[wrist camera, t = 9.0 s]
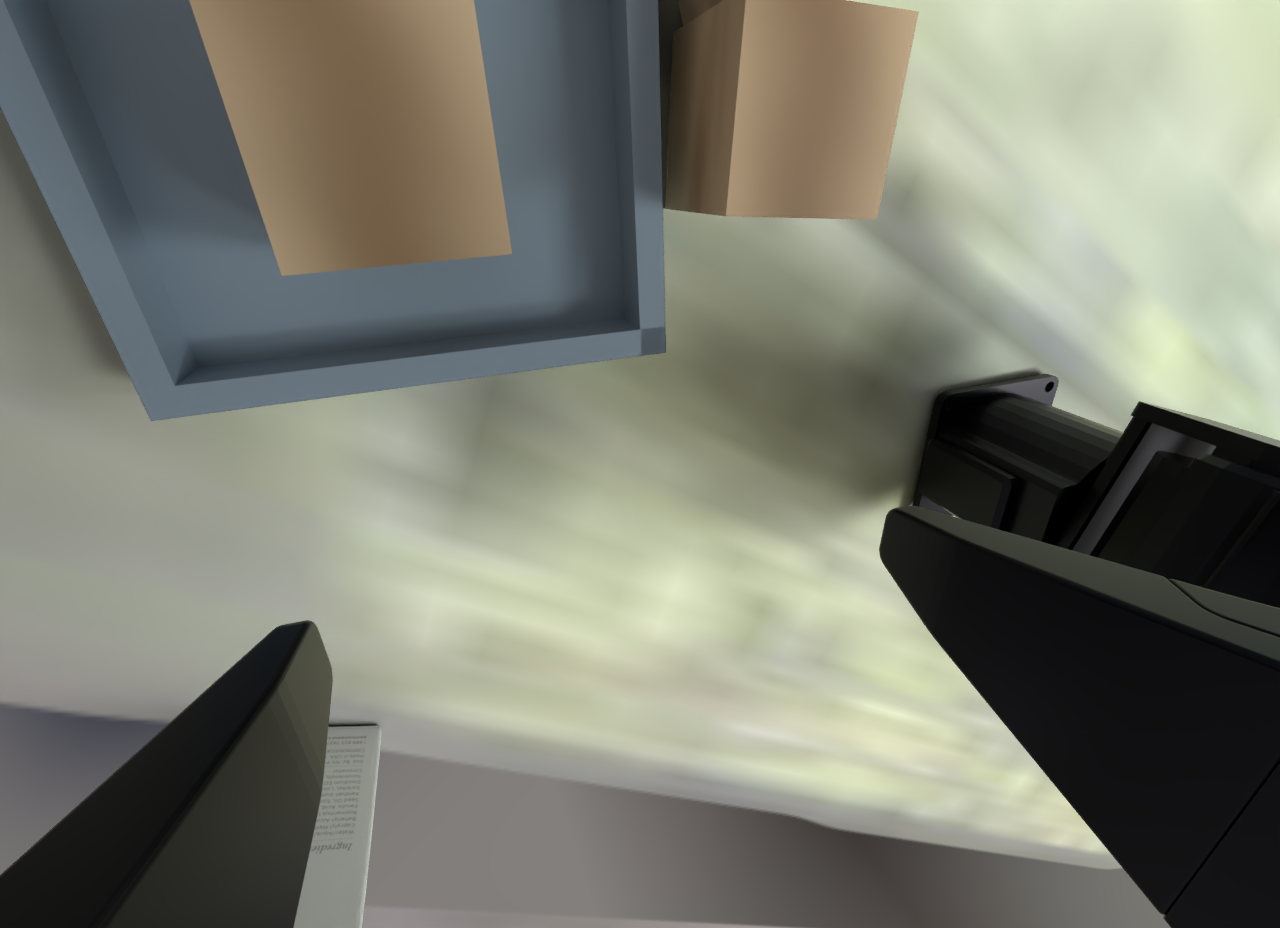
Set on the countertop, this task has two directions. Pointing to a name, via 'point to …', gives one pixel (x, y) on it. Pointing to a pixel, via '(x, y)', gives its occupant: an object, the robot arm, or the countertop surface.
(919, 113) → the countertop surface
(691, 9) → the oak cube
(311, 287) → the tray
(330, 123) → the oak cube
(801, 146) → the oak cube
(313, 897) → the small box
